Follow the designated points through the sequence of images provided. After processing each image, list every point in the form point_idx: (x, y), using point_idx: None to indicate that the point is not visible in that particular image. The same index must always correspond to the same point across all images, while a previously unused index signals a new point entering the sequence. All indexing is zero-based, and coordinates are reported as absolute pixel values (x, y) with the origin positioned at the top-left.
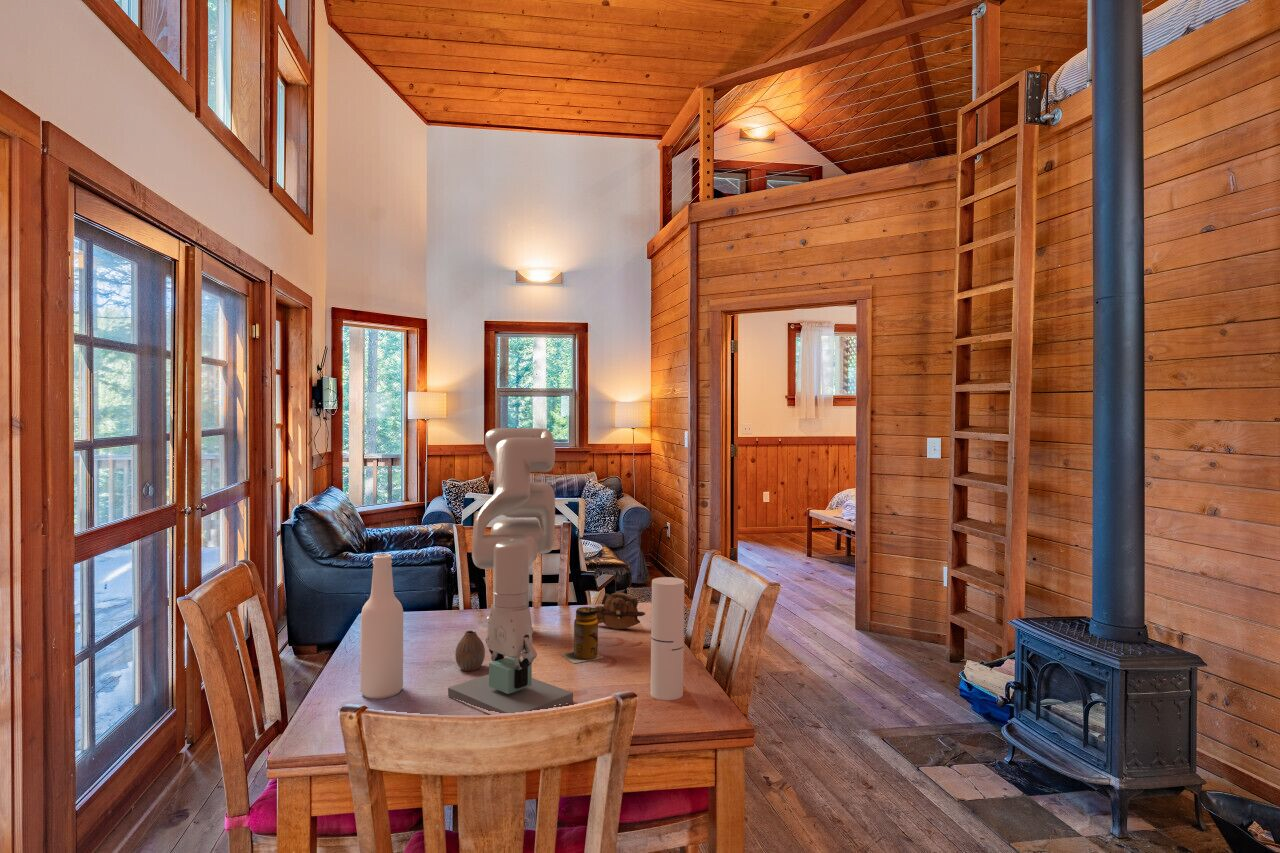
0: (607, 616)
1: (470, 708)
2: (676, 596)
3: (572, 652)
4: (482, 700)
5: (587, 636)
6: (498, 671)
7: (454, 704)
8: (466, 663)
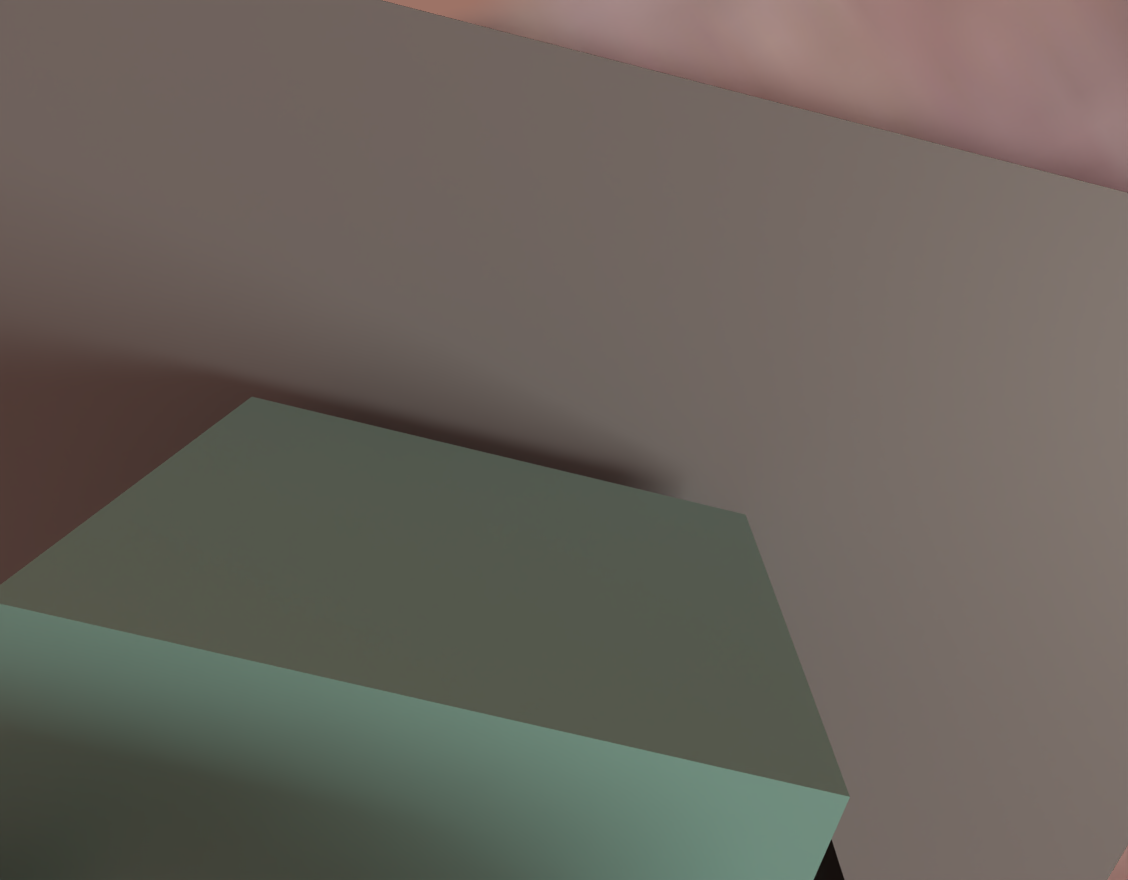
0: None
1: (773, 72)
2: None
3: None
4: (569, 101)
5: None
6: (452, 624)
7: (1090, 74)
8: None
